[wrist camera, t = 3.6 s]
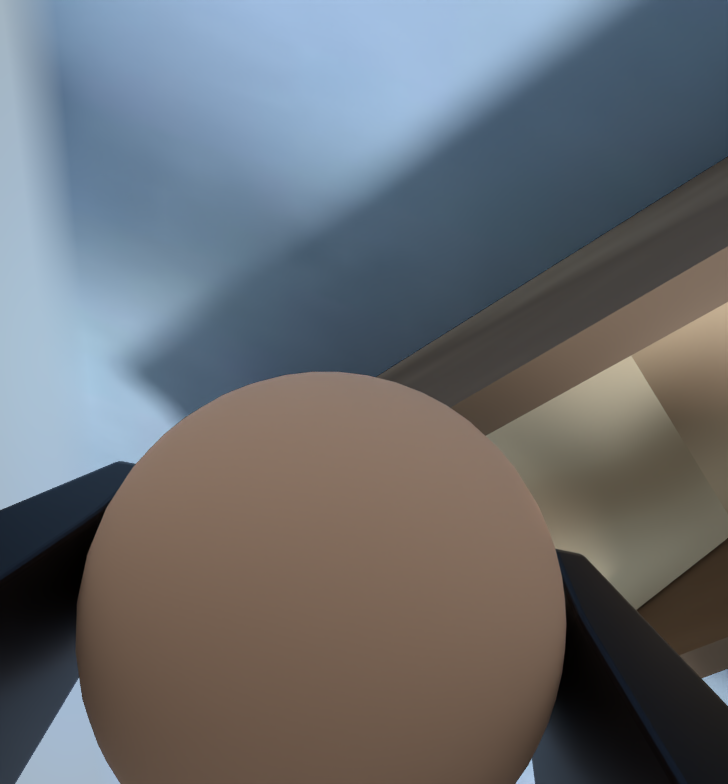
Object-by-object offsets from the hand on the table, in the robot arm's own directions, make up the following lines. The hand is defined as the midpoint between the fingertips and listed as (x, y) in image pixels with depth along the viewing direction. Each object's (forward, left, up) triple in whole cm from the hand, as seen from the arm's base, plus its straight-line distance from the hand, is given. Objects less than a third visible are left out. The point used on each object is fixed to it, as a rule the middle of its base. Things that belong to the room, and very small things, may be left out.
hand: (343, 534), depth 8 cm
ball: (0, 0, +1) cm, 1 cm away
